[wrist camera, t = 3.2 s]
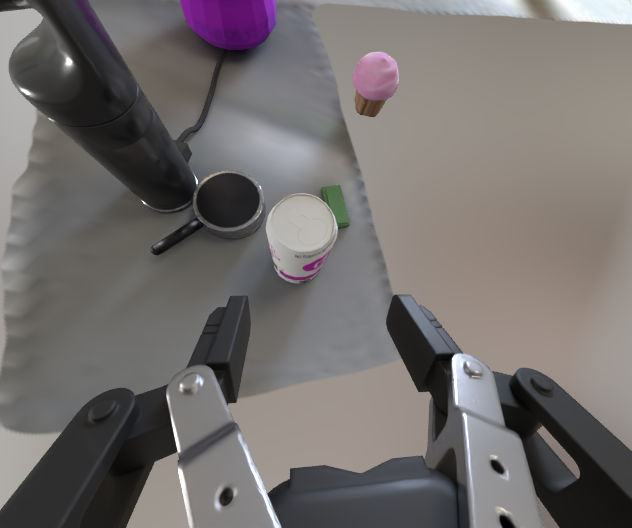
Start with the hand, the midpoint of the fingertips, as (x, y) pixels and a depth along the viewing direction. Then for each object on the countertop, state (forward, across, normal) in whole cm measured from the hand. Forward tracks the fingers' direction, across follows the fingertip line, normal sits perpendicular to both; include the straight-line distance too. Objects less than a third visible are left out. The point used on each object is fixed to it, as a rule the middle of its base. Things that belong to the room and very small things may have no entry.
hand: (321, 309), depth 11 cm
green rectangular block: (+33, -7, +4) cm, 34 cm away
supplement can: (+26, 0, +12) cm, 29 cm away
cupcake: (+51, -15, -13) cm, 54 cm away
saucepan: (+31, +14, +7) cm, 34 cm away
